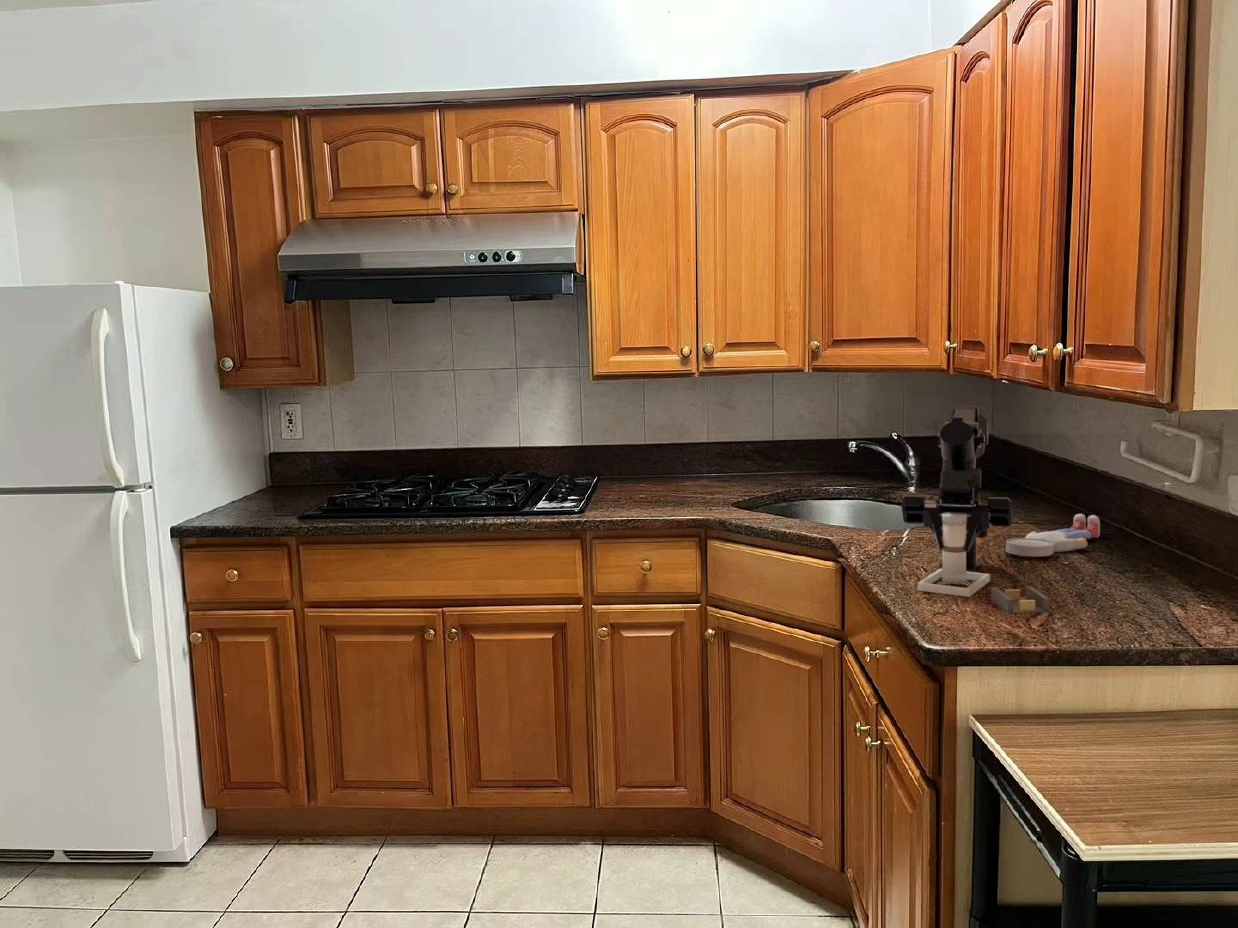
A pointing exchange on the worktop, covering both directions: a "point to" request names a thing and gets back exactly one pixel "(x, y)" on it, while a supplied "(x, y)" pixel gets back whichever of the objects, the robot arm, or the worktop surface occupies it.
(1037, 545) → the toy
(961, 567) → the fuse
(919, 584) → the parts tray
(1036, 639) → the worktop surface
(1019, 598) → the fuse holder
